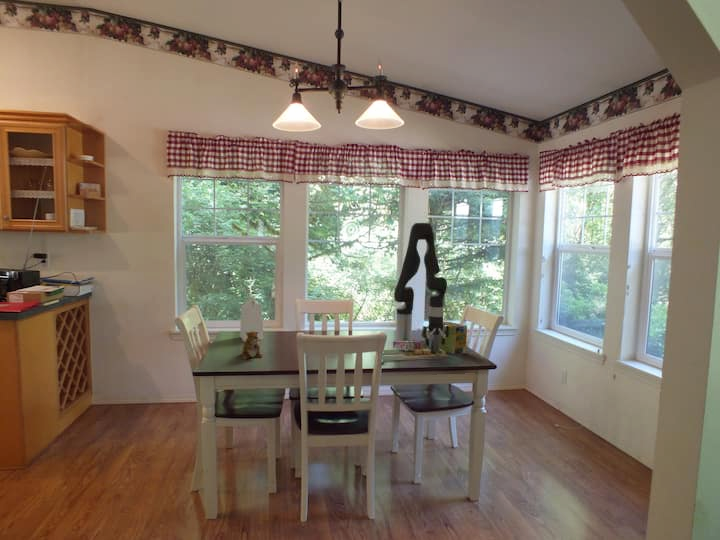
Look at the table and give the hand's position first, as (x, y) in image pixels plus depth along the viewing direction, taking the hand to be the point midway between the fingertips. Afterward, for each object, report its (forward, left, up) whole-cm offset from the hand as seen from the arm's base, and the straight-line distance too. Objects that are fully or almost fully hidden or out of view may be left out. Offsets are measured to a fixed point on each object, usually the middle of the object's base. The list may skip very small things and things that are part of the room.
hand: (435, 345), depth 236 cm
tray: (0, -25, -6) cm, 26 cm away
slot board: (0, -7, -6) cm, 9 cm away
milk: (-55, -95, -7) cm, 110 cm away
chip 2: (0, -5, -5) cm, 7 cm away
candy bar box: (-14, -2, -3) cm, 14 cm away
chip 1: (0, -10, -5) cm, 11 cm away
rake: (0, 0, -5) cm, 5 cm away
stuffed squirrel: (-17, -95, -7) cm, 97 cm away
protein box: (-9, +12, -7) cm, 17 cm away
